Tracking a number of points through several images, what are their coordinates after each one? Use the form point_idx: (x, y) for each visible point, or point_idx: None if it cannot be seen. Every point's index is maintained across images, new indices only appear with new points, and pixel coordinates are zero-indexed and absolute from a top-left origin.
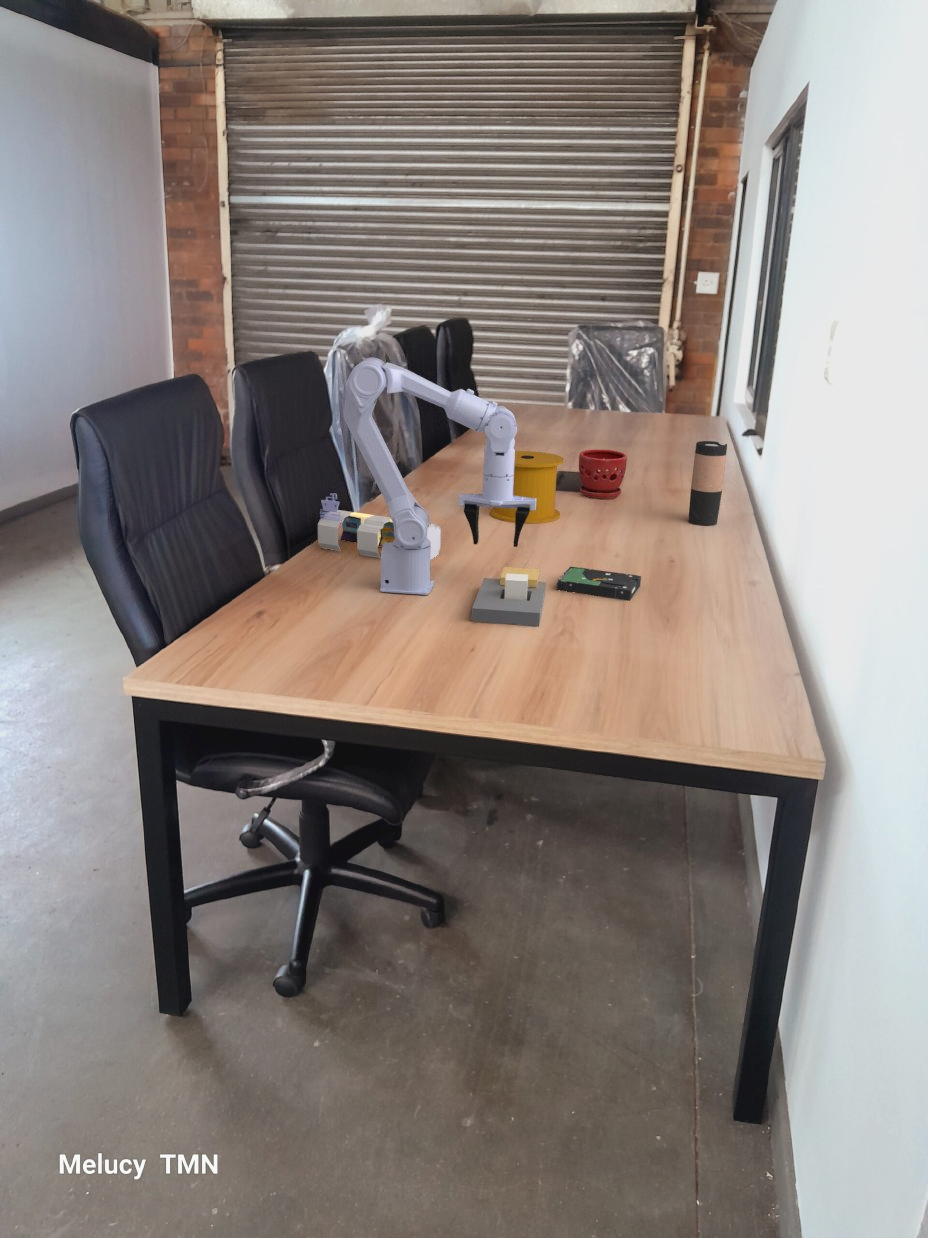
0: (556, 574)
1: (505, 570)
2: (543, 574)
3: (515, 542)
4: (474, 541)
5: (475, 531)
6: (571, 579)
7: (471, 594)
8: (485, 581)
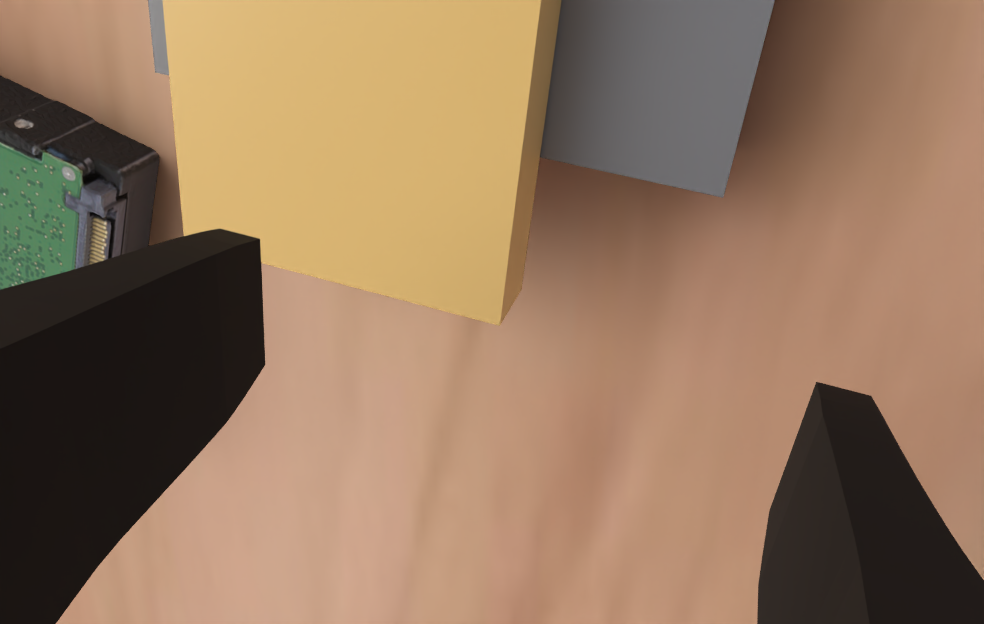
0: (203, 458)
1: (485, 211)
2: (277, 468)
3: (192, 245)
4: (869, 408)
5: (867, 515)
6: (16, 196)
7: (886, 16)
8: (723, 75)
